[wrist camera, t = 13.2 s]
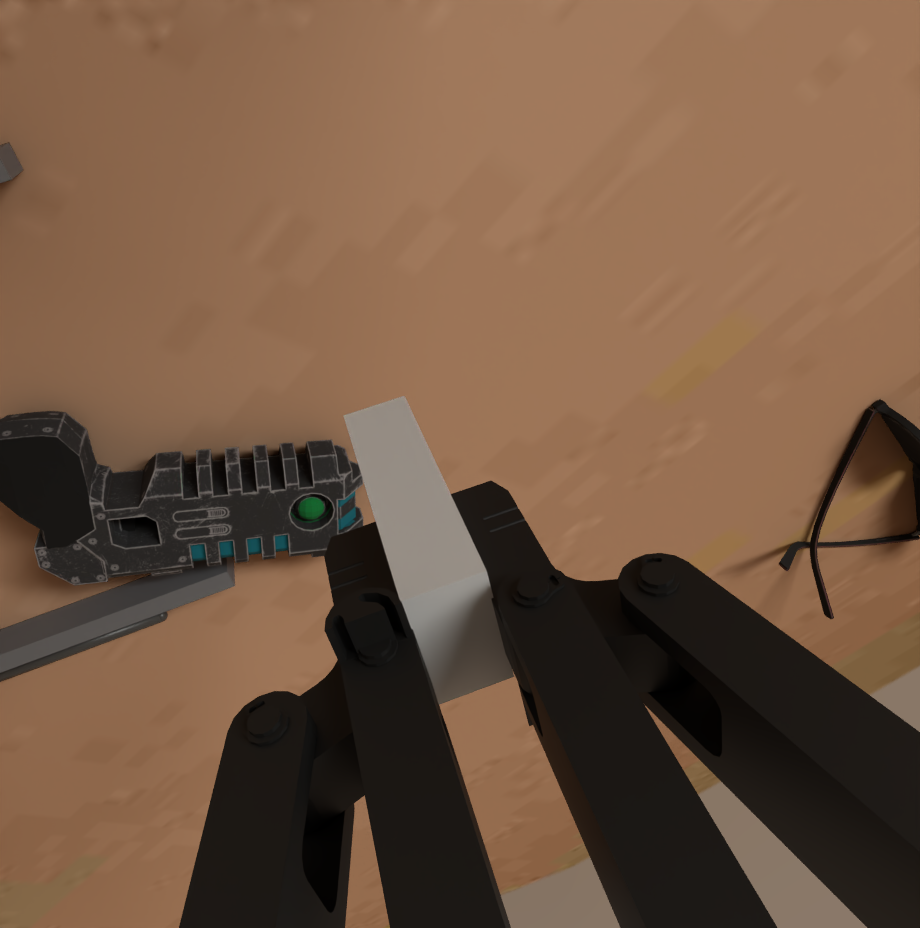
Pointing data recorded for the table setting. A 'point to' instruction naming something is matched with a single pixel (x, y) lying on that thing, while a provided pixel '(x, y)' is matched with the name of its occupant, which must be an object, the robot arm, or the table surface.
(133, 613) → the dock
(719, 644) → the robot arm
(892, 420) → the sunglasses
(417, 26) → the table surface
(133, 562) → the toy gun
